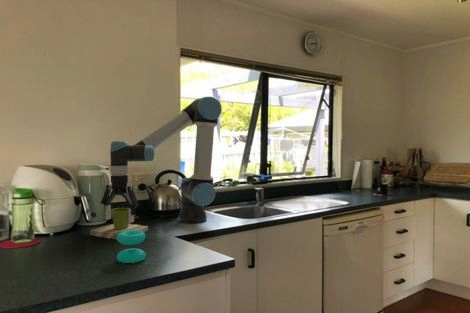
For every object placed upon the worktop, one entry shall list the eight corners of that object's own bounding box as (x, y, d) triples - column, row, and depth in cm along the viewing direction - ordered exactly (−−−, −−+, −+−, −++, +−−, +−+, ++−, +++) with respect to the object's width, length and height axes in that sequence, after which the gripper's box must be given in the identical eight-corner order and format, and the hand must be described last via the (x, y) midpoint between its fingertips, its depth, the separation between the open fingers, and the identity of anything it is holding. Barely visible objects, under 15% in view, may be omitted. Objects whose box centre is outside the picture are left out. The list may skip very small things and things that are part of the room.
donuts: (129, 237, 129) (110, 233, 135) (130, 266, 130) (110, 261, 135) (151, 231, 137) (132, 228, 143) (151, 259, 138) (132, 254, 143)
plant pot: (118, 231, 169) (118, 212, 169) (106, 228, 175) (105, 209, 174) (135, 227, 176) (135, 209, 176) (123, 225, 182) (123, 207, 182)
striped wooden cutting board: (148, 232, 180) (147, 226, 180) (120, 241, 164) (120, 234, 164) (118, 228, 188) (118, 222, 188) (90, 236, 172) (90, 230, 171)
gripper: (146, 175, 173) (146, 221, 174) (104, 173, 183) (104, 216, 184) (135, 176, 166) (136, 224, 167) (92, 174, 176) (93, 219, 177)
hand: (119, 220), depth 175 cm, fingers open, 13 cm apart
